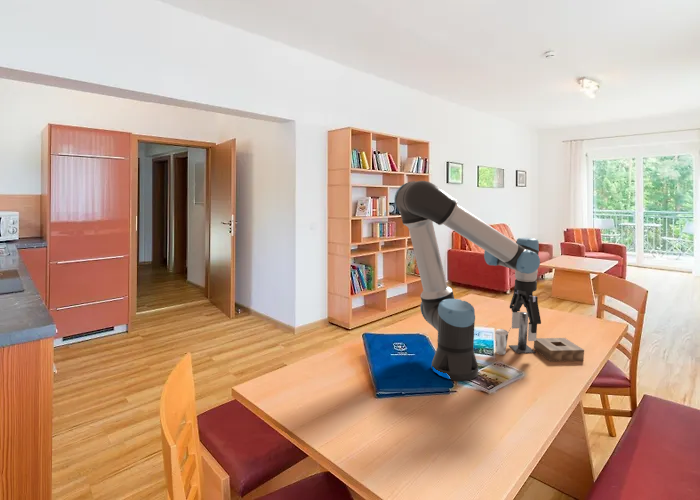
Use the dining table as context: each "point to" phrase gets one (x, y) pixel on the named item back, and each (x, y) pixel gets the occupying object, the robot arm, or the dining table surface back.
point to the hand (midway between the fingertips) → (523, 334)
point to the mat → (515, 348)
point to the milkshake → (501, 341)
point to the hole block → (558, 349)
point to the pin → (523, 331)
